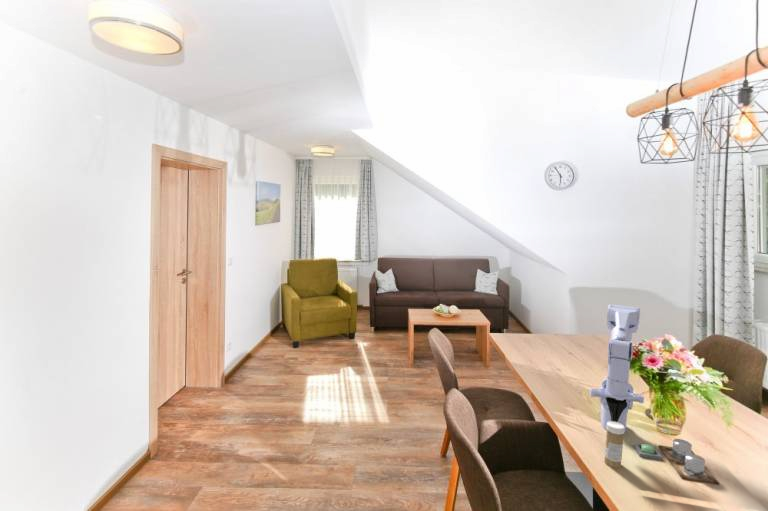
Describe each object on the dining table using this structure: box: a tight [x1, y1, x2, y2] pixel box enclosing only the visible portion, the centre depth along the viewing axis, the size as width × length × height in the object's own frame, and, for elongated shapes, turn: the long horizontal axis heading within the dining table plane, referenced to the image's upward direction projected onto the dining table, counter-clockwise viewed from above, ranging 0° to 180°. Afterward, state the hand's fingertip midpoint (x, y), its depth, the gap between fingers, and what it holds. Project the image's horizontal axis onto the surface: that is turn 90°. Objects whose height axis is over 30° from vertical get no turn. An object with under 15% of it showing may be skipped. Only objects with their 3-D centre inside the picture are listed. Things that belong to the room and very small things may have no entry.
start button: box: [641, 443, 655, 454], centre depth 127 cm, size 3×3×3 cm
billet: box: [683, 453, 706, 478], centre depth 117 cm, size 4×4×6 cm
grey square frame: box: [632, 442, 663, 461], centre depth 127 cm, size 6×6×2 cm
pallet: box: [658, 444, 720, 486], centre depth 122 cm, size 17×9×2 cm, turn 165°
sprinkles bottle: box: [603, 421, 625, 469], centre depth 120 cm, size 5×5×14 cm
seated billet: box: [671, 438, 692, 461], centre depth 125 cm, size 4×4×6 cm
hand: (614, 421), depth 128 cm, fingers closed
